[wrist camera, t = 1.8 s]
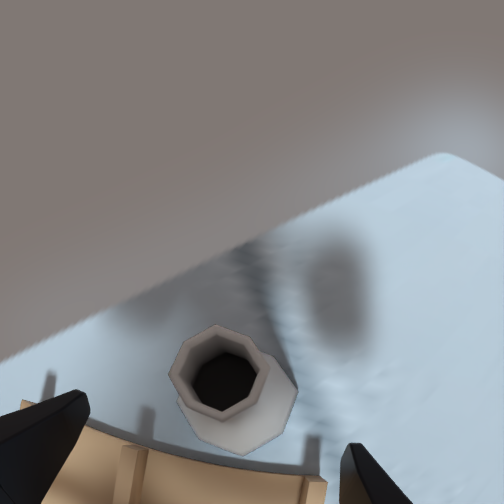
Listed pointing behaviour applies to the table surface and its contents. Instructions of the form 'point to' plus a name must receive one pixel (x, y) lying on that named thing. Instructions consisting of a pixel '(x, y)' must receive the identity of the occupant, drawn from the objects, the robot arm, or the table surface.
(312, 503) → the rack
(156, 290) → the table surface
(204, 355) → the flask
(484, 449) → the table surface
